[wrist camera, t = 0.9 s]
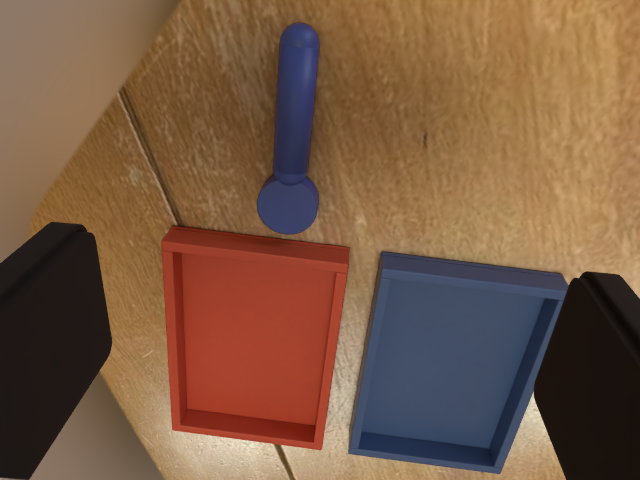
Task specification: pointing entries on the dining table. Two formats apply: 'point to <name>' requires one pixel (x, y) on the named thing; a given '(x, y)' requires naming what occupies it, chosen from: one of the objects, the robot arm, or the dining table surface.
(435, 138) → the dining table surface
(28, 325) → the robot arm
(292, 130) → the blue spoon
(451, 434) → the blue tray
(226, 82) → the dining table surface
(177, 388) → the red tray
